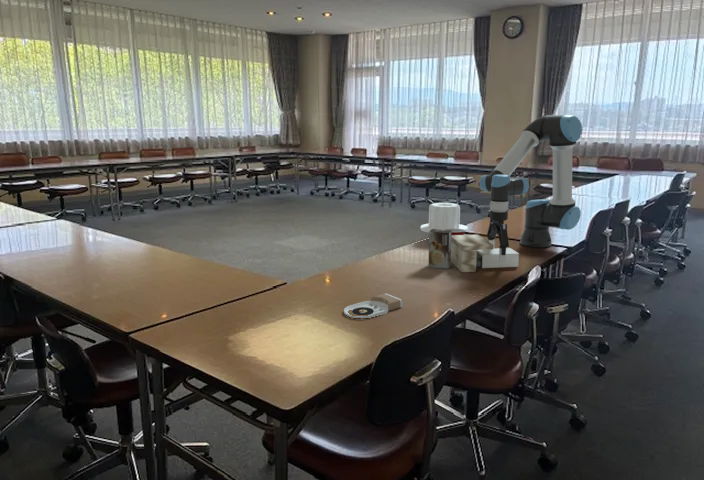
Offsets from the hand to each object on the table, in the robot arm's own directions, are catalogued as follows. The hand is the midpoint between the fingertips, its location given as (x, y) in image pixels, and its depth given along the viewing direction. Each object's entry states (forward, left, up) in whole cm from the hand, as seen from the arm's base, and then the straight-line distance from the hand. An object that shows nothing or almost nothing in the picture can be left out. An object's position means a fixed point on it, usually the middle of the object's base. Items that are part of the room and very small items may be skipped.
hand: (496, 257), depth 224 cm
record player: (+62, +50, -4) cm, 79 cm away
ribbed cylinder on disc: (+10, -51, -3) cm, 52 cm away
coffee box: (+26, 0, -3) cm, 26 cm away
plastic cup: (+14, -21, -3) cm, 25 cm away
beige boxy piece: (+12, 0, -3) cm, 13 cm away
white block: (0, 0, -3) cm, 3 cm away
